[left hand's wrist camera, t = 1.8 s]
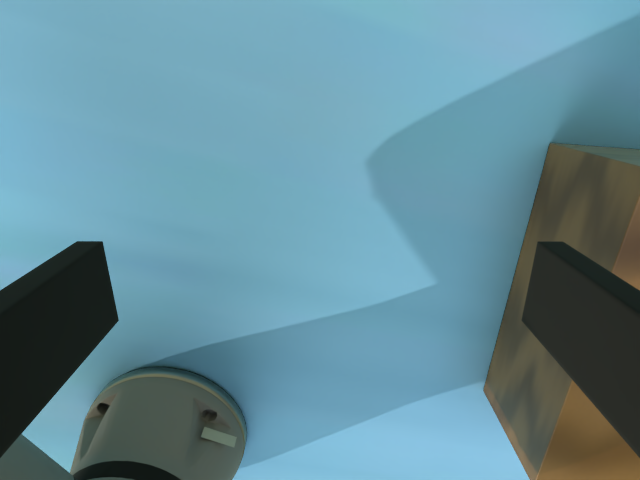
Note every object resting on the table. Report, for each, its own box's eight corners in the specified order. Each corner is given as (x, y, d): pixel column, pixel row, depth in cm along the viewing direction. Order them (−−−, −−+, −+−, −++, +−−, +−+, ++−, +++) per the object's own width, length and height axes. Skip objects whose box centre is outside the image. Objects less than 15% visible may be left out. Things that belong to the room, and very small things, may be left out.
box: (568, 395, 39) (645, 493, 30) (482, 390, 39) (533, 487, 29) (658, 150, 30) (805, 179, 21) (549, 142, 30) (649, 168, 21)
